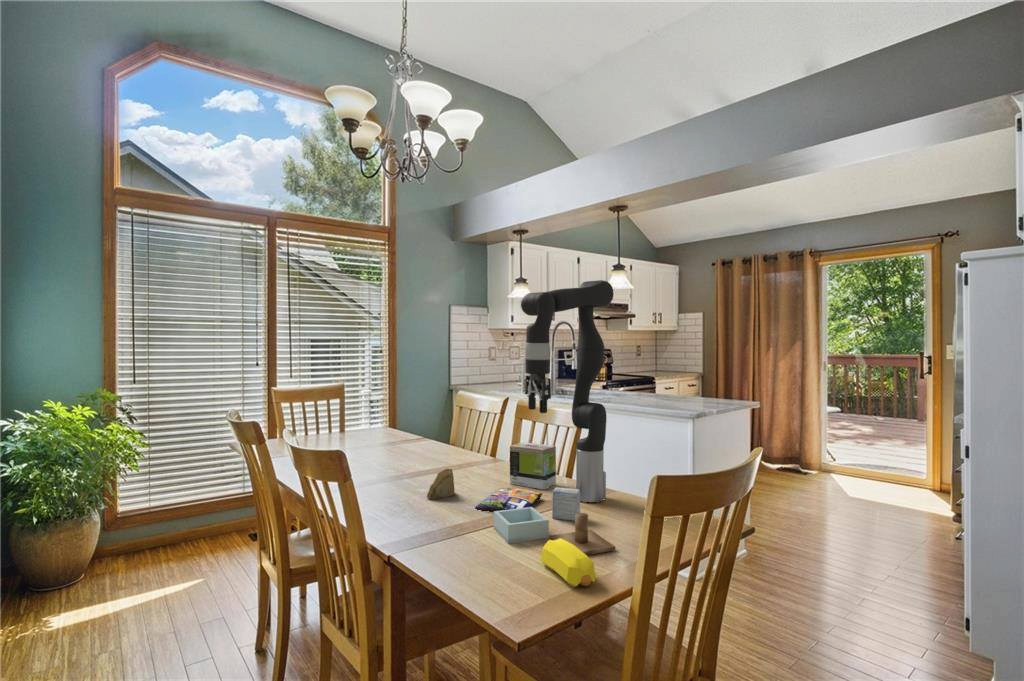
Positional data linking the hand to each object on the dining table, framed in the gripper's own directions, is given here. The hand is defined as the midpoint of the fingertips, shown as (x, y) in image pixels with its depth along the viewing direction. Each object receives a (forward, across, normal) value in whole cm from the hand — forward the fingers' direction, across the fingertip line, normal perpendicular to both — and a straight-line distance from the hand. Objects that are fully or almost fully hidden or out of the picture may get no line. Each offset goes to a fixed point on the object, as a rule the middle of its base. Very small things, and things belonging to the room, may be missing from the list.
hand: (537, 411), depth 163 cm
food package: (+34, +16, +4) cm, 38 cm away
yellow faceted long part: (+34, -37, +8) cm, 50 cm away
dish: (+33, -9, +9) cm, 35 cm away
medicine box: (+33, -2, -9) cm, 35 cm away
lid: (+33, -23, -3) cm, 40 cm away
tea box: (+33, +36, -14) cm, 51 cm away
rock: (+33, +33, +22) cm, 52 cm away
